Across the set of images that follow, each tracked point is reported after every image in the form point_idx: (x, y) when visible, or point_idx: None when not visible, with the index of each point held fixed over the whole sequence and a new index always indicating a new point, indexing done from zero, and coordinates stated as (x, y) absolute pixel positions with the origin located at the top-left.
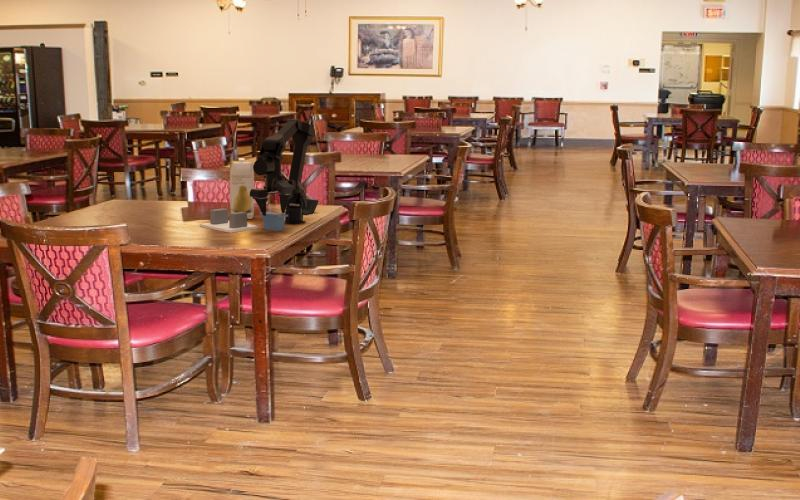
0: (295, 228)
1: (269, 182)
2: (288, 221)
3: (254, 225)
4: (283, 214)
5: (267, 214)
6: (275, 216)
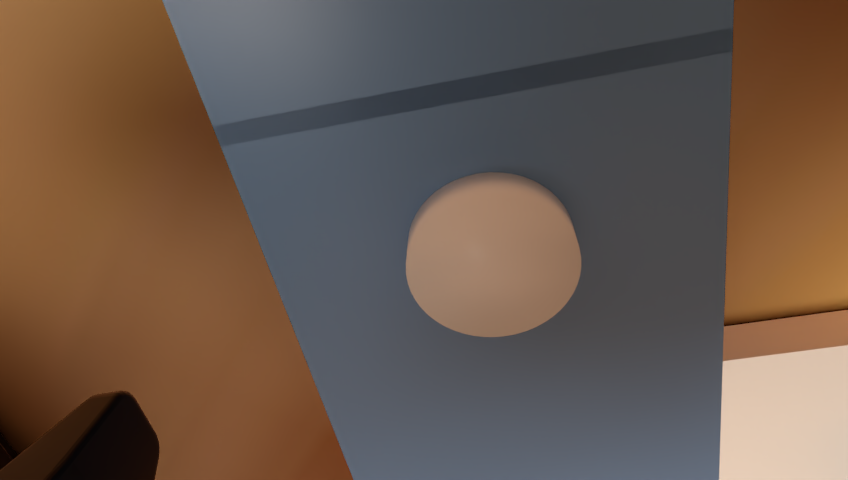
0: (16, 9)
1: None
2: (8, 461)
3: None
4: (284, 76)
5: (719, 403)
6: (714, 19)
